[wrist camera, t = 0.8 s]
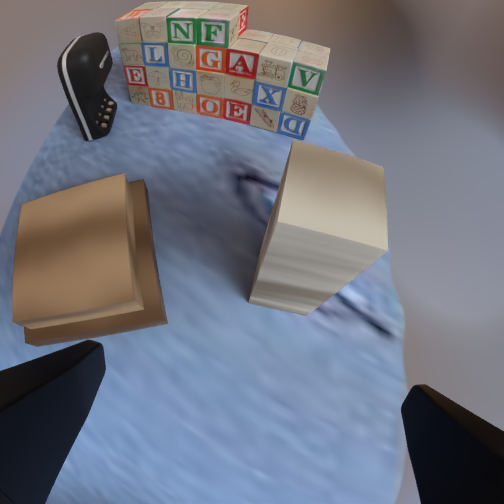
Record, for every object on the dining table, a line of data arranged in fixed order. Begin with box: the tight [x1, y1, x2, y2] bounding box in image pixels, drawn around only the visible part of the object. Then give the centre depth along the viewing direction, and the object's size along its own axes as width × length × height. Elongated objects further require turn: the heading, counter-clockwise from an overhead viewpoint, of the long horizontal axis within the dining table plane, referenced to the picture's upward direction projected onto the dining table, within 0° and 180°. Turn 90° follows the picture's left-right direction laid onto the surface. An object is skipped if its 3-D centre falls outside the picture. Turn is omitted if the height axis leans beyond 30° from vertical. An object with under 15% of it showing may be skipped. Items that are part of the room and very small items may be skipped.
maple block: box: [12, 173, 144, 329], centre depth 18 cm, size 10×10×2 cm
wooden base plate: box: [24, 179, 168, 346], centre depth 21 cm, size 12×12×2 cm
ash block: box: [248, 139, 388, 316], centre depth 17 cm, size 4×4×12 cm
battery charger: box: [57, 32, 117, 141], centre depth 23 cm, size 7×4×11 cm, turn 8°
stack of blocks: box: [115, 1, 330, 140], centre depth 25 cm, size 21×6×12 cm, turn 74°
